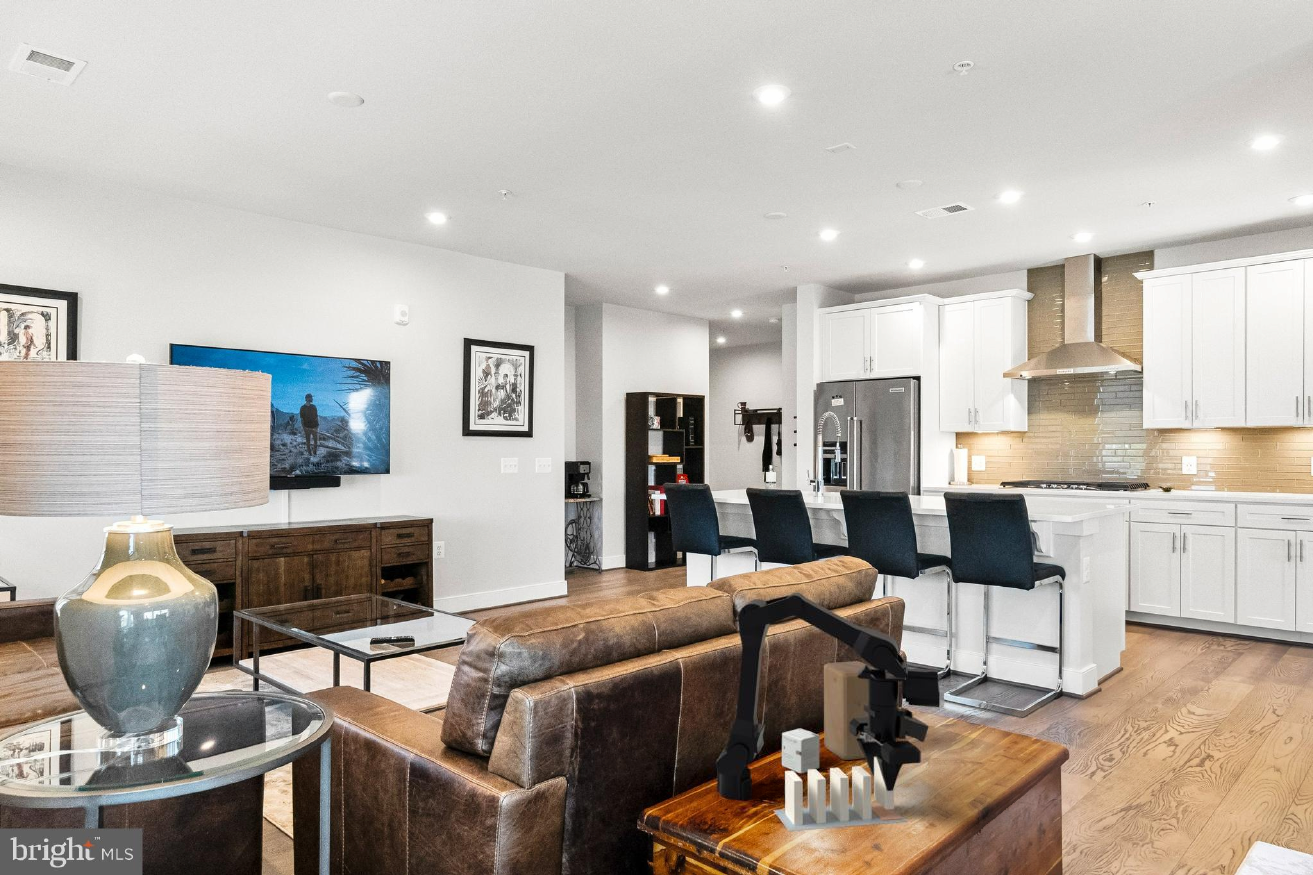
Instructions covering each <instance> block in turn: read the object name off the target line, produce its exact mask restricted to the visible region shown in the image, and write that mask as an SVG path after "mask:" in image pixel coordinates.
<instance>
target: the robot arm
mask: <svg viewBox="0 0 1313 875" xmlns="http://www.w3.org/2000/svg"><path fill="white" fill-rule="evenodd" d="M789 617H790V618H791V617H797V618H798V619H800V620H802V621H804V622H806V623H808V624H809V625H811V626H813V627H815V628H817V629H818V630H820V631H823V632H824V633H825V634H828V635H829V636H830V637H833V638H835V639H836V640H838V641H840V642H842V643H844V644H845V645H846V646H848V647H849V648H850V649H852V650H854V652H855V653H856V654H857V655H858V656H859V657H861V658H862V659H863V660H864V661H865V662H867V663H864V664H865V666H864V667H863V668H862V669H861V670H859V671H858V675H857V677H858V678H860V679H868V705H864V711H866V712H867V713H868V717H863V718H853V719H852V720H851V721H850V723H849V732H850V733H851V734H853V735H854V736H858V734H859V732H860V738H857V739H856V740H857V742H858V744H859V746H860V748H861V750H862V752H863V754H864V757H865V758H864V760H865V761H866V763H867V765H868V768H869V770H870V772H871V774H872V775H871V776H872V777H873V778H874V757H877V761H878V764H879V767H880V770H881V774H882V777H883V780H884V783H885V786H886V789H887V790H888V791H892V790H893V789H894V790H895V785H896V782H897V779H898V778H899V773H900V771H901V768H902V766H903V765H908V764H920V763H922V751H921V750H920V749H919V748H918V746H916V745H914V744H913V743H912V742H910V741H909V740H907V738H906V737H910V738H913V739H916V740H918V742H921V743H922V742H923V743H924V742H925V740H926V737H927V734H928V731H929V728H930V725H927V724H926V723H925V722H923V721H921V720H919V719H917V718H916V717H914V716H913V712H912V711H911V710H909V709H908V708H905V707H901V708H899V702H900V701H899V700H900V699H899V693H900V692H899V683H900V682H901V684H902V685H901V689H902V690H901V691H902V692H901V695H902V700H905V702H906V703H908V706H916V707H917V706H918V707H928V708H940V704H941V702H940V700H941V699H940V698H941V696H940V695H941V694H940V692H941V691H940V686H939V672H938V671H939V670H938V669H934V668H933V669H932V668H930V669H923V668H922V669H920V668H909V665H908V663H907V661H905V659H904V658H903V657H902V655H901V654H900V653H899V646H898V645H899V644H898V643H897V641H896V639H895V638H894V637H893V636H891V635H890V634H887V633H884V632H881V631H878V630H875V629H872V628H867V627H863V626H861V625H857V624H855V623H854V622H851V621H849V620H848V619H846V618H844V617H843V616H840V615H839V614H837V613H835V612H833V611H831V610H830V609H827V608H825V607H824V606H822V605H820V604H819V603H817V602H814V601H813V600H811V599H809V598H807V597H806V596H804V594H803V593H800V592H792V593H791V594H788V595H785V596H780V597H775V598H772V599H771V598H770V599H768V600H764V599H760V598H757V599H756V598H755V599H754V598H753V599H752V600H749V602H747V603H746V604H744V605H743V607H741V609H740V610H739V612H738V616H737V618H738V619H737V621H738V632H739V637H740V641H741V656H740V657H741V658H740V669H739V681H738V692H737V703H736V704H737V705H736V712H735V713H736V714H735V718H734V722H733V724H732V727H731V729H730V734H729V737H728V740H727V745H726V747H725V748H724V749H723V750H722V752H721V753H720V755H719V757H718V758H717V760H716V762H715V763H714V765H715V768H716V779H717V781H716V782H717V783H716V792H717V794H718V793H719V795H720V796H721V797H722V798H724V799H727V800H732V801H740V802H746V801H749V800H750V799H752V798H753V778H752V777H751V776H752V775H751V773H752V772H751V770H752V769H751V768H749V767H748V766H749V765H751V763H753V761H754V760H755V758H756V755H759V753H760V752H761V749H762V747H763V745H764V744H765V742H764V738H763V737H764V731H765V727H766V724H764V723H759V720H758V716H757V715H758V713H757V712H758V702H759V700H758V699H759V691H760V680H761V670H762V669H761V668H762V660H763V659H762V658H763V647H764V644H765V641H766V637H767V635H768V633H769V632H768V631H769V628H770V625H771V624H773V623H777V622H778V621H782V620H784V619H787V618H789ZM869 664H870V665H869ZM871 667H873V668H875V669H872V668H871ZM897 739H900V740H897Z"/></svg>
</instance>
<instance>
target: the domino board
mask: <svg viewBox="0 0 1313 875" xmlns="http://www.w3.org/2000/svg"><path fill="white" fill-rule="evenodd" d="M773 812H774V813H775V815H776V816H777V817H778V818H779V820H780V821H781V822H782V824H783V825H784V827H785V828H786V829H787V830H788V832H796V831H805V830H806V831H808V830H809V831H810V830H811V831H812V830H820V829H821V830H822V829H834V828H844V827H845V828H847V827H857V826H858V827H859V826H870V825H880V824H881V825H883V824H895V823H908V820H907V819H906V818H904V817H903V816H902V815H901V814H900V813H899V812H898V811H897V810H896V809H895V808H894V809H885V808H884V807H883V806H882V805H881V804H879V803H878V802H877V801H875V802H871V812H872V819H869V820H863V819H862V818H861V817H860V816H859V815H858V814H857V813H856V812H855V811H854V810H853V809H852V803H851V804H850V803H849V821H844V822H840V820H839V819H838V818H837V817H836V816H835V815H834V814H833V813H832V812H831V811H830V805H826V823H819V824H818V823H817V822H816V821H815V820H814V819H813V818H812V816H811V815H810V814H809V813H808V807H803V825H794V824H793V823H792V822H791V821H790V819H789V818H788V817H787V815H786V814H785V808H783V809H773Z"/></svg>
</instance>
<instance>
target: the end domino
mask: <svg viewBox="0 0 1313 875" xmlns="http://www.w3.org/2000/svg"><path fill="white" fill-rule="evenodd" d="M873 791H874V792H873V793H874V795H873V797H874V800H876V801H875V802H878V803H879V804H881V805H882V806H883V807H884V808H885V809H894V810H895V794H894V793H895V792H894V791H895V788H894V789H893V790H892V791H888V790H887V789H886V786H885V783H884V780H883V777H882V774H881V770H880V767H879V764H878V761H877V757H874V777H873Z"/></svg>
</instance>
